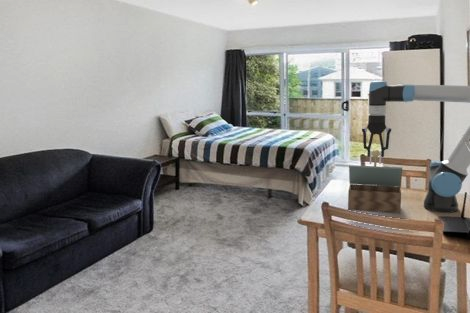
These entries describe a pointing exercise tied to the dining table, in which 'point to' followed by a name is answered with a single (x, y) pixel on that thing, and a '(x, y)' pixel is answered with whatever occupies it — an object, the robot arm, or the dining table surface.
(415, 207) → the dining table surface
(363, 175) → the box lid
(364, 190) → the storage box
